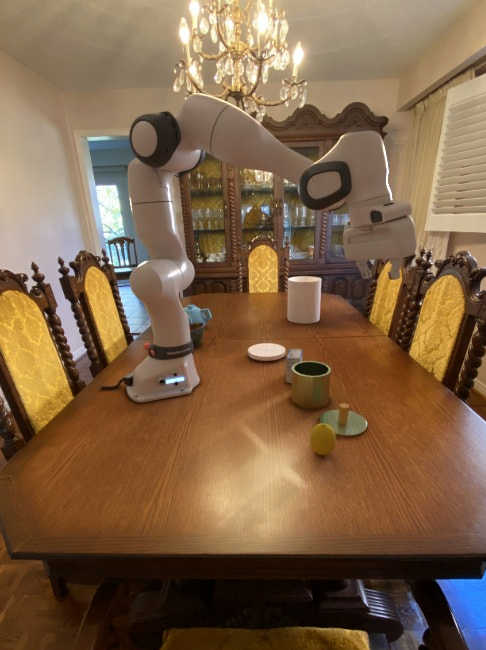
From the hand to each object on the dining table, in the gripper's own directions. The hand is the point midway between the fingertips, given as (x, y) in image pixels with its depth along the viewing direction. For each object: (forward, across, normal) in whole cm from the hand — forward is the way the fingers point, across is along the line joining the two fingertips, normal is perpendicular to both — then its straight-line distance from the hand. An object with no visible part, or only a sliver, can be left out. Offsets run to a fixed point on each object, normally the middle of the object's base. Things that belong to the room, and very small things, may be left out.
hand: (380, 278), depth 78 cm
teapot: (+16, -99, -34) cm, 106 cm away
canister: (+28, -91, +19) cm, 97 cm away
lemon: (+32, +6, -26) cm, 42 cm away
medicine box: (+30, -31, -14) cm, 45 cm away
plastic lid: (+27, -52, -16) cm, 60 cm away
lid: (+32, -2, -15) cm, 36 cm away
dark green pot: (+18, -73, -44) cm, 87 cm away
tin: (+31, -16, -17) cm, 39 cm away
